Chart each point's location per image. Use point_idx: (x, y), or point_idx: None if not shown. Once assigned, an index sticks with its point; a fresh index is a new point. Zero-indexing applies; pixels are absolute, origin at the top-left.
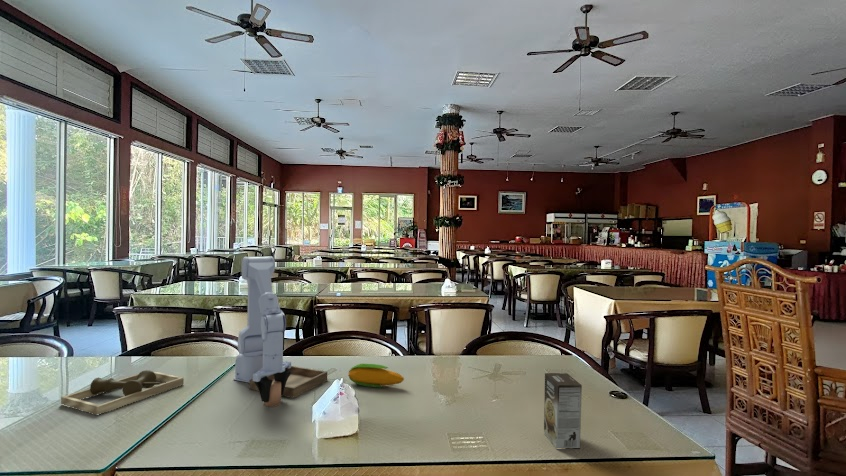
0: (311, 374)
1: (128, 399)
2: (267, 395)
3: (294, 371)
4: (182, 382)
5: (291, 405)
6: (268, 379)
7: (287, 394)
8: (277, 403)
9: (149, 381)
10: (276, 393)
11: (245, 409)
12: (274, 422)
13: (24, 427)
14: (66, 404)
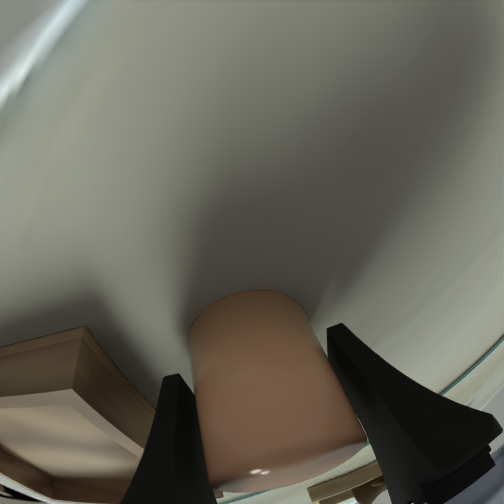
0: None
1: None
2: (379, 356)
3: (28, 472)
4: (311, 492)
5: (170, 211)
6: (436, 481)
7: (111, 375)
8: (254, 300)
9: (367, 488)
10: (293, 368)
11: (385, 338)
12: (453, 60)
13: (487, 401)
14: None
